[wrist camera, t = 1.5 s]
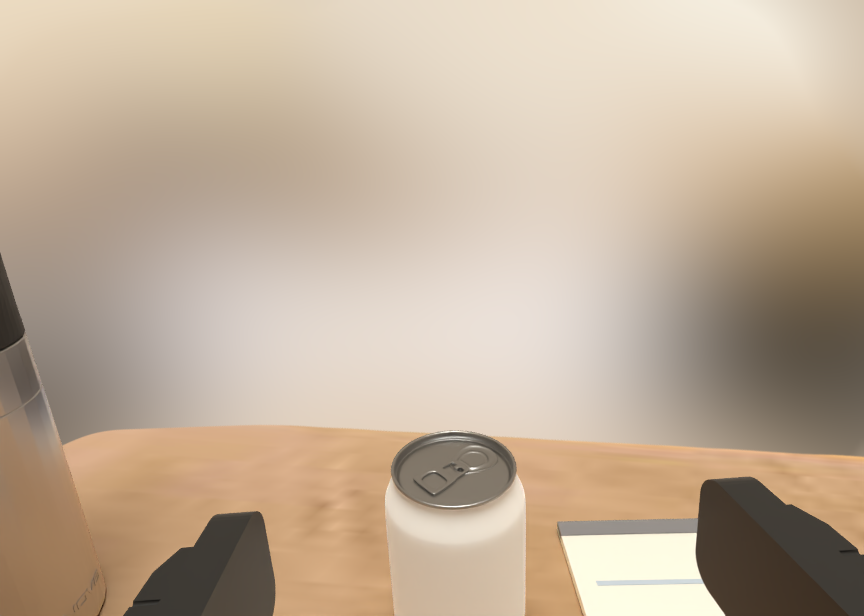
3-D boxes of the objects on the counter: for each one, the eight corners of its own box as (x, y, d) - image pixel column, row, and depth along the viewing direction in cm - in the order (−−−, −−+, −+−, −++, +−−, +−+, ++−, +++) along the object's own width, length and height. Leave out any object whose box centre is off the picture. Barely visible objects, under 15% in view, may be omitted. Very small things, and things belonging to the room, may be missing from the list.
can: (550, 666, 25) (557, 465, 21) (456, 766, 21) (445, 541, 17) (464, 586, 29) (458, 412, 26) (375, 654, 26) (353, 461, 22)
